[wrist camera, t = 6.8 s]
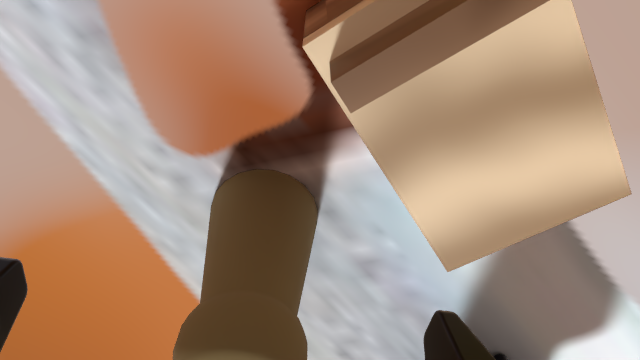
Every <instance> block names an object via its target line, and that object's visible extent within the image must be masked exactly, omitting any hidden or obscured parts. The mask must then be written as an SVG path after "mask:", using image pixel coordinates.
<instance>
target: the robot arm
mask: <svg viewBox="0 0 640 360" xmlns="http://www.w3.org/2000/svg"><path fill="white" fill-rule="evenodd" d="M26 295H27V283H26V279H25V274H24V270H23V265H22V263H21V262H20V260H18V259H11V258H2V257H0V352H1V350H2V347H3V345H4V343H5V341H6V339H7V337H8V334H9V332H10V330H11V328H12V326H13V324H14V322H15V319H16V317H17V315H18V313H19V311H20V309H21V307H22V304H23V302H24V300H25V298H26ZM424 351H425V360H508V359H507V358H506V356H505V355H502V354H499V355H495V356H492V355H491V354H490V352H489V351H488V350H487V349H486V348H485V347H484V345H483V344H482V343H481V342H480V341H479V340H478V339H477V337H476V336H475V335H474V334H473V333H472V332H471V330H470V329H469V328H468V327H467V326H466V325H465V324H464V322H463V321H462V320H461V319H460V318H459V317H458V315H457V314H455V313H454V312H450V311H442V310H438V311H436V312H435V313H434V315H433V317H432V319H431V321H430V323H429V325H428V327H427V329H426V332H425V335H424Z"/></svg>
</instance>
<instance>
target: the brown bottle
mask: <svg viewBox="0 0 640 360" xmlns="http://www.w3.org/2000/svg"><path fill="white" fill-rule="evenodd" d="M317 213H318V210H317V207H316V204H315V201H314V198H313V196H312V195H311V193H310V192H309V191H308V190H307V188H306V187H305V186H304V185H303V184H302V183H300V182H299V181H297V180H296V179H294V178H293V177H291V176H290V175H287V174H284V173H281V172H277V171H274V170H260V169H255V170H250V171H246V172H242V173H238V174H237V175H235V176H233V177H231V178H230V179H228V180H226V181H225V182H224V183H223V184H222V185H221V187H220V188H219V189H218V190H217V191H216V193H215V196H214V199H213V202H212V205H211V213H210V222H209V230H208V239H207V248H206V257H205V265H204V274H203V283H202V291H201V300H200V304H199V305H198V306H197V307H196V308H195V309H194V310H193V311H192V312H191V313H190V314H189V316H188V317H187V319H186V320H185V322H184V323H183V324H182V326H181V329H180V333H179V335H178V338H177V341H176V344H175V347H174V350H173V360H307V340H306V336H305V333H304V330H303V327H302V325H301V323H300V320H299V318H298V317H297V314H298V309H299V304H300V300H301V295H302V290H303V286H304V281H305V276H306V272H307V267H308V262H309V258H310V253H311V248H312V244H313V239H314V234H315V229H316V225H317Z"/></svg>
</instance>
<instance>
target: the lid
mask: <svg viewBox="0 0 640 360" xmlns="http://www.w3.org/2000/svg"><path fill="white" fill-rule="evenodd" d="M302 47H303V49H304V50H305V52H306V53H307V55H308V56H309V58H310V60H311V61H312V63H313V64H314V66H315V67H316V69H317V70H318V72H319V73H320V75H321V77H322V78H323V80H324V81H325V83H326V84H327V86H328V87H329V89H330V91H331V92H332V94H333V95H334V97H335V98H336V100H337V101H338V103H339V104H340V106H341V108H342V109H343V111H344V112H345V114H346V115H347V117H348V118H349V120H350V122H351V123H352V125H353V126H354V128H355V129H356V131H357V132H358V134H359V135H360V137H361V139H362V140H363V142H364V143H365V145H366V146H367V148H368V149H369V151H370V153H371V154H372V156H373V157H374V159H375V160H376V162H377V163H378V165H379V166H380V168H381V170H382V171H383V173H384V174H385V176H386V177H387V179H388V180H389V182H390V183H391V185H392V187H393V188H394V190H395V191H396V193H397V194H398V196H399V197H400V199H401V201H402V202H403V204H404V205H405V207H406V208H407V210H408V211H409V213H410V214H411V216H412V218H413V219H414V221H415V222H416V224H417V225H418V227H419V228H420V230H421V232H422V233H423V235H424V236H425V238H426V239H427V241H428V242H429V244H430V245H431V247H432V249H433V250H434V252H435V253H436V255H437V256H438V258H439V259H440V261H441V262H442V264H443V266H444V267H445V269H446V270H447V272H449V271H452V270H454V269H456V268H459V267H461V266H463V265H466V264H468V263H471V262H473V261H475V260H478V259H480V258H482V257H485V256H487V255H489V254H492V253H494V252H496V251H499V250H501V249H503V248H506V247H508V246H510V245H513V244H515V243H518V242H520V241H522V240H525V239H527V238H529V237H532V236H534V235H536V234H539V233H541V232H543V231H546V230H548V229H550V228H553V227H555V226H558V225H560V224H562V223H565V222H567V221H569V220H572V219H574V218H576V217H578V216H581V215H583V214H586V213H588V212H590V211H593V210H595V209H597V208H600V207H602V206H605V205H607V204H609V203H611V202H614V201H616V200H618V199H621V198H623V197H626V196H628V195H630V194H631V191H630V188H629V184H628V181H627V178H626V175H625V171H624V168H623V165H622V161H621V158H620V155H619V152H618V149H617V146H616V142H615V139H614V136H613V133H612V129H611V126H610V123H609V120H608V116H607V113H606V110H605V107H604V103H603V100H602V97H601V94H600V91H599V87H598V84H597V81H596V78H595V75H594V71H593V68H592V65H591V62H590V58H589V55H588V52H587V49H586V46H585V42H584V39H583V36H582V33H581V30H580V26H579V23H578V20H577V17H576V14H575V10H574V7H573V4H572V0H363V1H361V2H360V3H358V4H357V5H355V6H354V7H352V8H351V9H349V10H347V11H346V12H344V13H343V14H341V15H340V16H338V17H337V18H335V19H333V20H332V21H330V22H329V23H327V24H326V25H324V26H323V27H321V28H319V29H318V30H316V31H315V32H313V33H312V34H310V35H309V36H307V37H305V38H304V39H303V46H302Z"/></svg>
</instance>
